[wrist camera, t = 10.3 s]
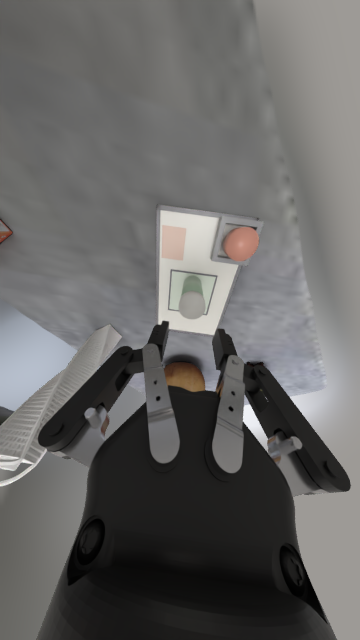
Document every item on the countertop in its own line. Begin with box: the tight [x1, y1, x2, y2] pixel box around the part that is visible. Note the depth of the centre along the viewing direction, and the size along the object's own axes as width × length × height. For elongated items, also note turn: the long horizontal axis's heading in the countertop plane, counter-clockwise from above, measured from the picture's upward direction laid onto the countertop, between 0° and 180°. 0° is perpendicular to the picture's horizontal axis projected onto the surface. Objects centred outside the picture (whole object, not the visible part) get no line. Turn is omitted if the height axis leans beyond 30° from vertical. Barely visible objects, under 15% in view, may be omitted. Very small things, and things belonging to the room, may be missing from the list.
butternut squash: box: [164, 362, 205, 392], centre depth 34 cm, size 14×13×25 cm
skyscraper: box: [0, 324, 122, 486], centre depth 27 cm, size 8×8×28 cm
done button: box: [223, 227, 259, 261], centre depth 19 cm, size 4×4×3 cm
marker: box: [178, 276, 206, 319], centre depth 23 cm, size 4×4×10 cm
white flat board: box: [156, 205, 264, 337], centre depth 27 cm, size 16×25×3 cm, turn 174°
